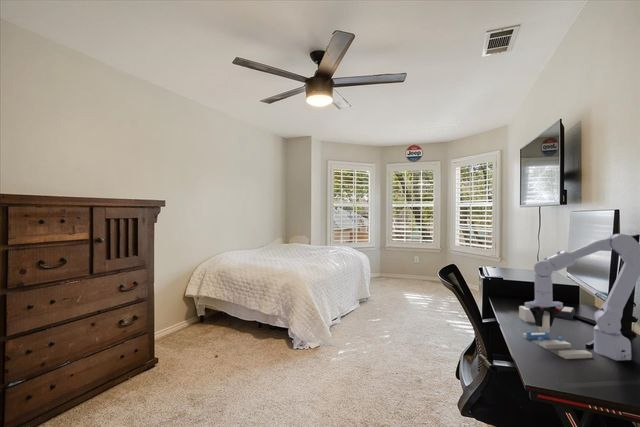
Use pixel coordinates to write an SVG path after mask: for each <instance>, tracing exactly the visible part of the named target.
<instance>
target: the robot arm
mask: <svg viewBox="0 0 640 427" xmlns="http://www.w3.org/2000/svg"><path fill="white" fill-rule="evenodd" d="M601 251H602V252H603V251H604V252H612V251H614V252H616V253H617V254H618V256H619V257H620V259H622V261H623V264H622V266H621V268H620V271H619V272H618V275H617V276H616V279H615V281H614V283H613V285H612V288H611V289H610V292H609V293H608V296H607V298H606V300H605V302H603V303H602V305H601V307H600V308H599V309H597V310H596V311H595V312H594V314H593V320H594V321H595V323H596V325H595V326H593V351H594V352H595V353H596V354H598V355H601V356H604V357H607V358H609V359H611V360H614V361H631V360H632V343H631V341H630V339H629V338H627V337H626V336H624V335H623V334H622V331H621V329H622V323H621V321H622V318H623V312H624V308H625V306H626V304H627V302H628V300H629V298H630V296H631V294H632V293H633V290H634V289H635V286H636V283H637V282H638V280H639V277H640V243H639V242H638V241H637V240H636V239H635V238H634V237H633V236H632V235H629V234H624V233H614V234H612V235H610V236H605V237H602V238H598V239H596V240H593V241H592V242H589V243H587V244H586V245H583V246H580V247H579V248H576V249H574V250H572V251H567V250H563V251H561V250H559V251H556V252H555V254H554V255H551V256H549V257H543V260H538V261H536V262H535V264H534V267H533V269H534V272H535V274H534V299H533V301H532V300H531V301H526V302H524V306H525V307H526V308H529V309H530V311H531V312H532V314H533V317H534V319H535V322H534V323H535V326H536V327H538V326H539V327H542V318H543V314H544V311H547V312H549V313H550V327H552V326H553V323H554V320H555V318H556V317H555V316H556V315H557V313H558V312H559V309H557V308H556V307H560V308H563V307H564V302H561V301H556V300H555V301H553V300H554V298H553V296H554V294H553V279H552V274H553V273H554V272H558V271H561V270H563V269H566V268H568V267H571V266H574V265H575V262H576V260H579V259H582V258H584V257H586V256H589V255H592V254H594V253H597V252H601ZM540 308H543V309H544V310H541V309H540Z"/></svg>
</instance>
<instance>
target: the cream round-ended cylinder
mask: <svg viewBox="0 0 640 427" xmlns="http://www.w3.org/2000/svg"><path fill="white" fill-rule="evenodd" d="M537 327H538V329H537V330H538V331H539V333H549V332H551V331H550V313H549V312H547V311H544V314H543V318H542V327H539V326H537Z"/></svg>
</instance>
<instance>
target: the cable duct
mask: <svg viewBox="0 0 640 427" xmlns="http://www.w3.org/2000/svg"><path fill="white" fill-rule="evenodd" d="M550 332H551V331H550ZM550 332H549V333H544V332H532V331H526V332H522V338H524V339H525V340H527V341H530V342H532V343H534V344H536V345H537V346H540V347H542V348H543V349H545V350H547V351H549V352H552V353H554V354H555V355H557V356H559V357H561V358H562V359H564V360H565V359H566V360H570V359H573V360H574V359H592V358H593V353H592V352H590V351H588V350H586V349H578V350H576V349H574V348H572V344H571V343H570V342H568V341H566V340H564V338H563V336H557V339H553V338H551V333H550Z"/></svg>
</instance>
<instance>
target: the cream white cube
mask: <svg viewBox="0 0 640 427" xmlns="http://www.w3.org/2000/svg"><path fill="white" fill-rule="evenodd" d="M518 314H519V315H518V317H519V319H521V320H522V321H523V322H524V323H535V319H534V317H533V314H532V312H531V311H530V309H529V308H526V307H525V305H519V306H518Z"/></svg>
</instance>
